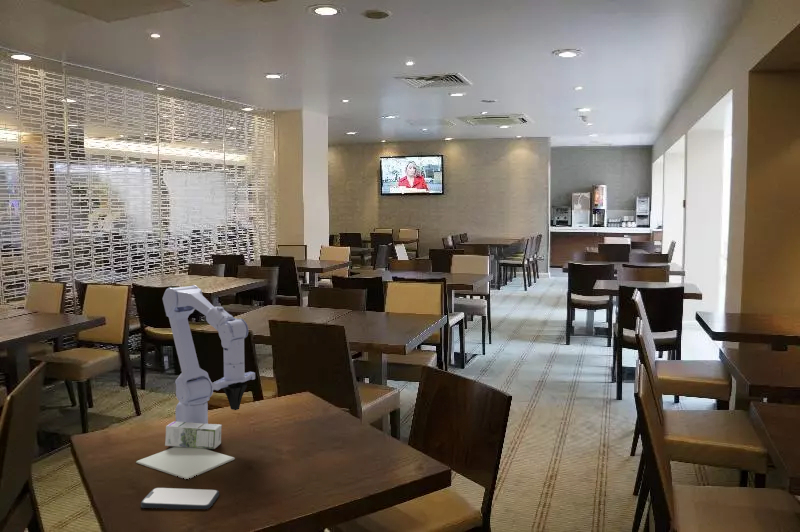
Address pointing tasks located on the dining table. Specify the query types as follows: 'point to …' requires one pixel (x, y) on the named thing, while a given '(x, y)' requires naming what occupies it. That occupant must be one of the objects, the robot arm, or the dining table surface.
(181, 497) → the phone case
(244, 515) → the dining table surface
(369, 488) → the dining table surface
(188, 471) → the mat
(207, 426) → the syrup box
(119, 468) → the dining table surface
